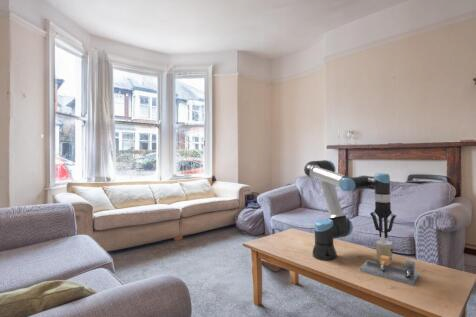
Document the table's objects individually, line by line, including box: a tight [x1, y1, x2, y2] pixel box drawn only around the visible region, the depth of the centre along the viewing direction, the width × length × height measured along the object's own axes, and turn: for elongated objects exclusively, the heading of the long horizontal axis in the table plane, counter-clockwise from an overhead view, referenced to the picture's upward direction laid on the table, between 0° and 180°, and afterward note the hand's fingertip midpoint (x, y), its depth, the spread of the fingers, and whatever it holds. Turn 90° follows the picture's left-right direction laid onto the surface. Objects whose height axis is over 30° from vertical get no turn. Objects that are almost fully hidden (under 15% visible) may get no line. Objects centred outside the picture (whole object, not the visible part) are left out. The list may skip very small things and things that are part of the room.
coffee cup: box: [375, 239, 394, 265], centre depth 162 cm, size 9×9×12 cm
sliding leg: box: [380, 255, 391, 270], centre depth 149 cm, size 4×8×6 cm, turn 138°
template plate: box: [359, 259, 419, 286], centre depth 147 cm, size 26×13×8 cm, turn 48°
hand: (383, 243), depth 148 cm, fingers closed
